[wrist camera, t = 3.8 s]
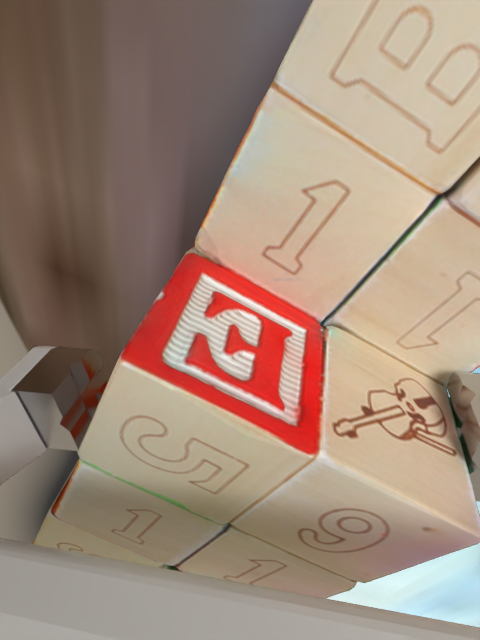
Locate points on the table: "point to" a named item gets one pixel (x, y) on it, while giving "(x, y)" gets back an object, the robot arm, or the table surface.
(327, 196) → the stack of blocks
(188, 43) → the table surface
